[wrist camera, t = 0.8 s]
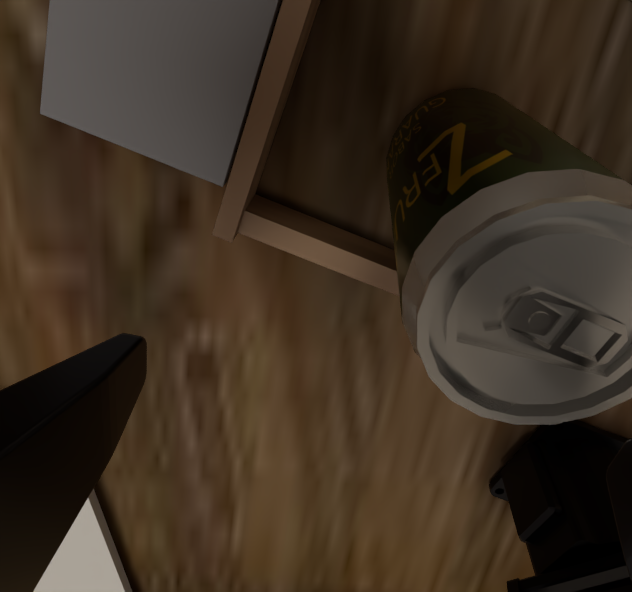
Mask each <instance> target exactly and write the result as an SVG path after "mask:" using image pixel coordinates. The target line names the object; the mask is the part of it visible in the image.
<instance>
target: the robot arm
mask: <svg viewBox="0 0 632 592" xmlns="http://www.w3.org/2000/svg"><path fill="white" fill-rule="evenodd" d="M146 372H147V343H146V340H145V339H144V338H143V337H142V336H137V335H132V334H127V333H122V334H119V335H117V336H115V337H113V338H111V339H109V340H106V341H104V342H102V343H100V344H98V345H96V346H94V347H92V348H89V349H87V350H85V351H83V352H81V353H79V354H77V355H75V356H72V357H70V358H68V359H66V360H64V361H62V362H60V363H58V364H55V365H53V366H51V367H49V368H47V369H45V370H43V371H41V372H38V373H36V374H34V375H32V376H30V377H28V378H26V379H24V380H21V381H19V382H17V383H15V384H13V385H11V386H9V387H7V388H4V389H2V390H0V592H33V591H34V589H35V588H36V586H37V584H38V583H39V581H40V579H41V578H42V576H43V574H44V572H45V571H46V569H47V567H48V566H49V564H50V562H51V560H52V559H53V557H54V555H55V554H56V552H57V550H58V548H59V547H60V545H61V543H62V542H63V540H64V538H65V536H66V535H67V533H68V531H69V530H70V528H71V526H72V524H73V523H74V521H75V519H76V518H77V516H78V514H79V512H80V511H81V509H82V507H83V506H84V504H85V502H86V501H87V499H88V497H89V495H90V494H91V492H92V490H93V489H94V487H95V485H96V483H97V482H98V480H99V478H100V477H101V475H102V473H103V471H104V470H105V468H106V466H107V464H108V463H109V461H110V459H111V457H112V455H113V453H114V451H115V449H116V446H117V444H118V442H119V440H120V437H121V435H122V433H123V431H124V428H125V426H126V424H127V422H128V419H129V417H130V415H131V412H132V410H133V408H134V406H135V403H136V401H137V399H138V396H139V394H140V392H141V390H142V387H143V385H144V382H145V379H146ZM489 488H490V492H491V494H492V495H493V496H495V497H498V498H500V499H503V500H506V501H509V504H510V508H511V511H512V515H513V518H514V522H515V525H516V529H517V532H518V536H519V538H520V540H521V541H523V542H525V543H526V545H527V549H528V552H529V555H530V559H531V562H532V566H533V569H534V572H535V576H532V577H528V578H525V579H521V580H519V579H518V578H517V579H513V580H510V581H507V589H508V592H632V438H631V439H629V440H628V439H625V438H623V437H620V436H617V435H615V434H612V433H609V432H607V431H604V430H601V429H599V428H596V427H594V426H591V425H588V424H586V423H583V422H580V421H578V420H572V421H568V422H563V423H560V424H558V425H556V424H550V425H541V426H540V427H539V429H538V430H537V431H536V432H535V433H534V434H533V435H532V436H531V438H530V439H529V440H528V441H527V442H526V443H525V444H524V445H523V447H522V448H521V449H520V450H519V451H518V452H517V453H516V454H515V455H514V457H513V458H512V459H511V460H510V461H509V462H508V463H507V464H506V466H505V467H504V468H503V469H502V470H501V471H500V472H499V473H498V475H497V476H496V477H495V478H494V479H493V480H492V481H491V482H490V484H489Z"/></svg>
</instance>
